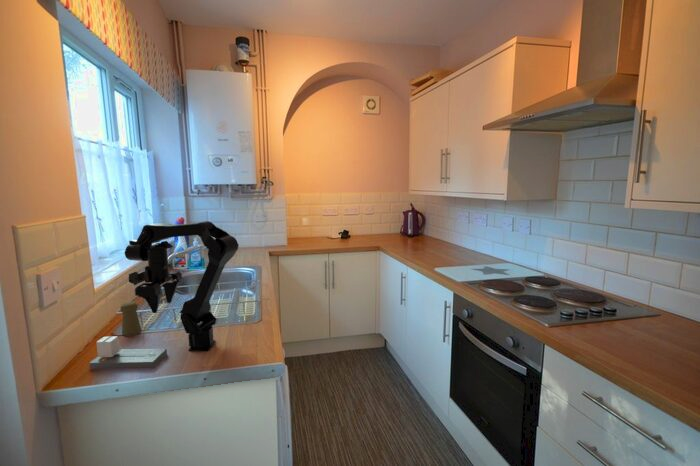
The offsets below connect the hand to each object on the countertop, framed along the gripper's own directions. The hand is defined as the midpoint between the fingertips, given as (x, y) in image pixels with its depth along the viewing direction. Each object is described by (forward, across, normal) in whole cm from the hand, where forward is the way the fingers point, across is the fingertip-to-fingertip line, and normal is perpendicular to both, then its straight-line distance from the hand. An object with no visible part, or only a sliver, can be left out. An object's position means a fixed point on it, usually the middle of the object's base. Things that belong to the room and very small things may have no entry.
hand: (162, 307), depth 115 cm
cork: (+12, -8, -16) cm, 22 cm away
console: (+12, +13, -4) cm, 18 cm away
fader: (+9, +13, -10) cm, 19 cm away
